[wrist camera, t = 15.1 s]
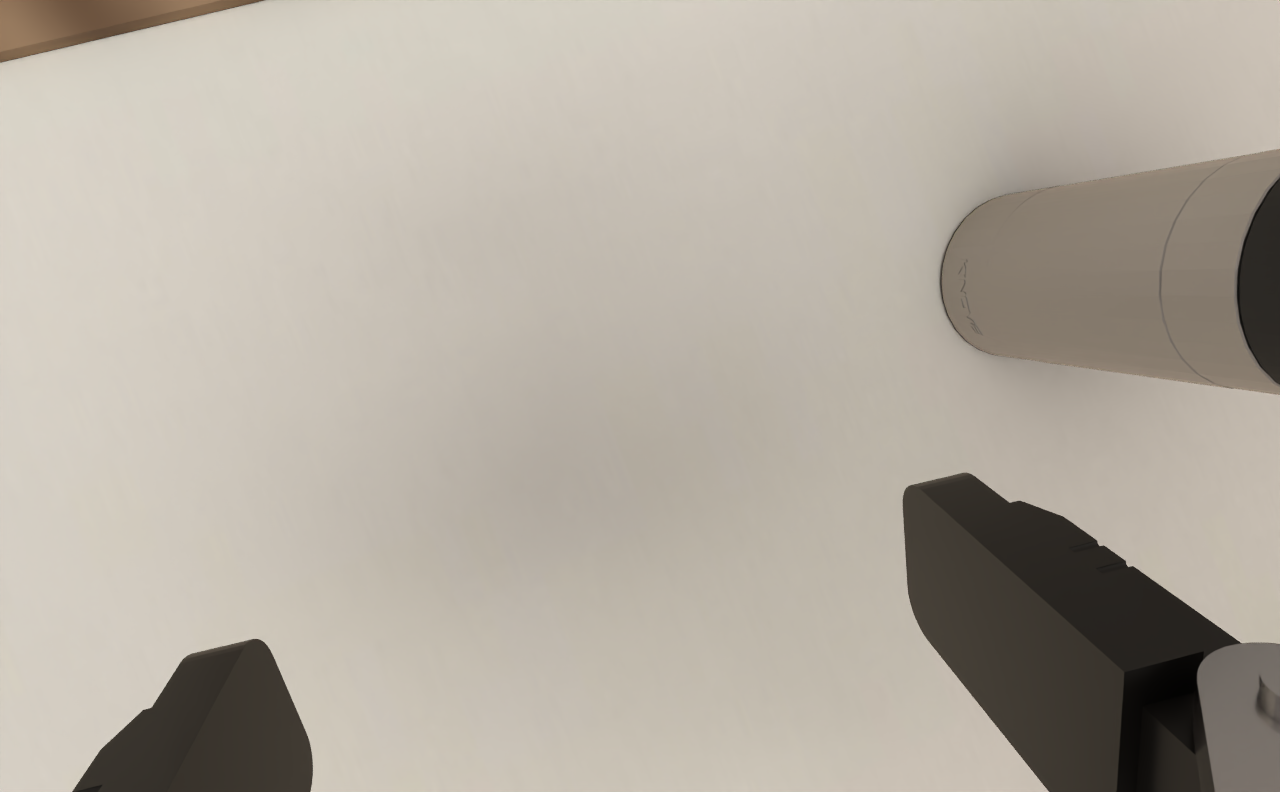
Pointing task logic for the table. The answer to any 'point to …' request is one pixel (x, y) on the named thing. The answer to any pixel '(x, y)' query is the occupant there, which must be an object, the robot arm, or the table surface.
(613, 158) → the table surface
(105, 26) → the tile board
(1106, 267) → the robot arm
